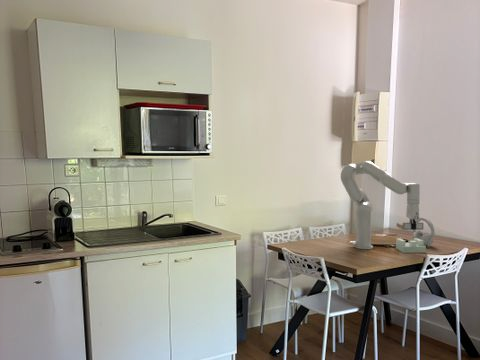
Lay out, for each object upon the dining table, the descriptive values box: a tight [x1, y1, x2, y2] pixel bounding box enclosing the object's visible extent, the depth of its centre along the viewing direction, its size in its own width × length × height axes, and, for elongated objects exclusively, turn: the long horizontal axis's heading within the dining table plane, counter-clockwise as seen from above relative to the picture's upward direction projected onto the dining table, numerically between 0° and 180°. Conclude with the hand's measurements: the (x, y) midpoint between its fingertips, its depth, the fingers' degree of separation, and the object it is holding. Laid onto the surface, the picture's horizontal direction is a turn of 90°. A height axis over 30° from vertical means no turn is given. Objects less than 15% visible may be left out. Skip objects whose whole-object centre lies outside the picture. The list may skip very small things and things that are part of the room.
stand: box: [395, 238, 427, 254], centre depth 261 cm, size 12×15×7 cm
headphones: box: [412, 216, 435, 248], centre depth 275 cm, size 19×8×20 cm, turn 17°
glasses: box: [396, 221, 424, 231], centre depth 261 cm, size 13×13×4 cm
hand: (412, 229), depth 256 cm, fingers closed on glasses, 1 cm apart
